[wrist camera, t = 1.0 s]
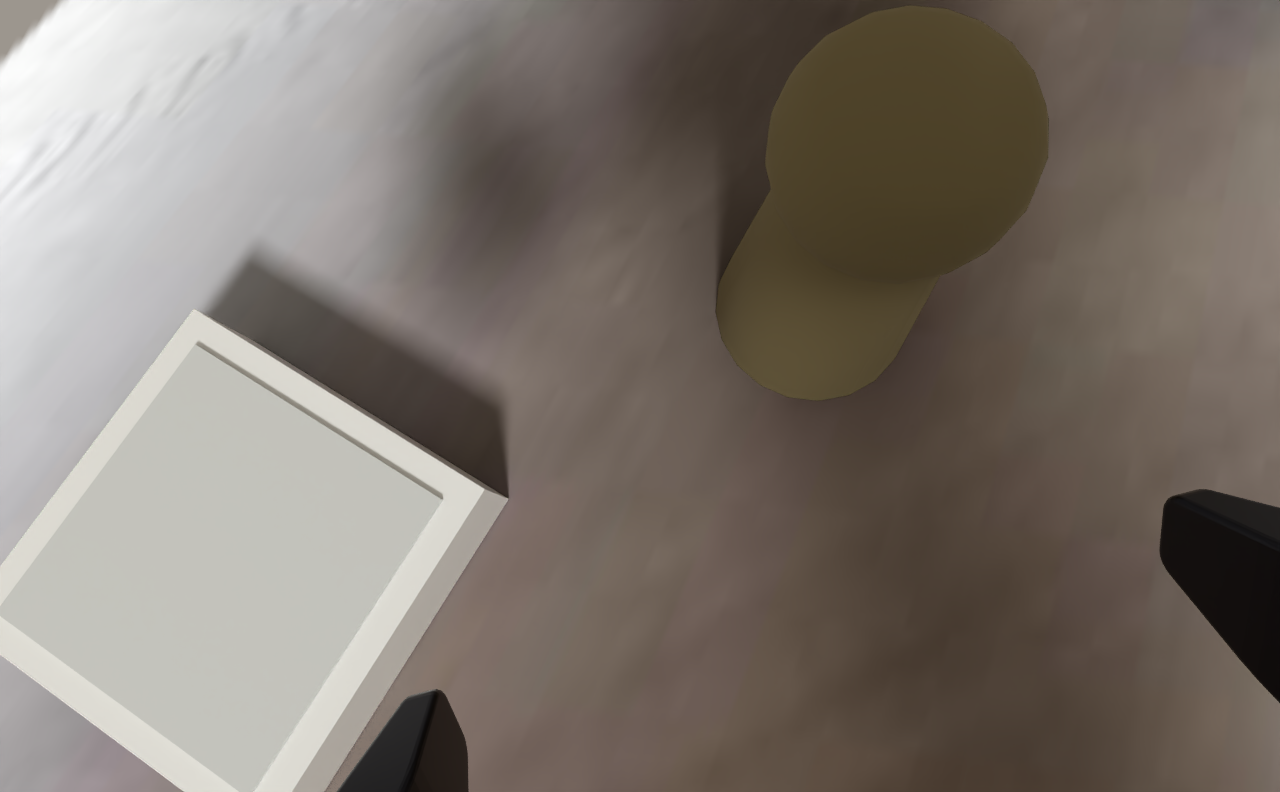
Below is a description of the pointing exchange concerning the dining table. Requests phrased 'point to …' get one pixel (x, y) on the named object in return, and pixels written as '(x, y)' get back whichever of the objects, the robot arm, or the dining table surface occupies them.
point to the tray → (238, 568)
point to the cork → (878, 194)
